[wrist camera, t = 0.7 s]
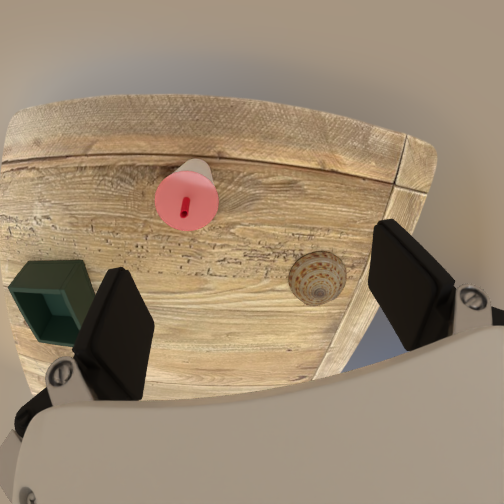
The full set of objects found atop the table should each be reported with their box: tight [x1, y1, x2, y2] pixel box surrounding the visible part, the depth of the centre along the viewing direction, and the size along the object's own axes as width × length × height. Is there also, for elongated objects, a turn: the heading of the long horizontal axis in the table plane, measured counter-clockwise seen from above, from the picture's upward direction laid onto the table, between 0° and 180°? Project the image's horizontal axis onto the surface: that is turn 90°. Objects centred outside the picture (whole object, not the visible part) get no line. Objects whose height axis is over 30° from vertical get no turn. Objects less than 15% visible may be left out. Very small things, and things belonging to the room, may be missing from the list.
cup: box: [155, 159, 219, 231], centre depth 25 cm, size 5×5×12 cm
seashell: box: [289, 252, 347, 306], centre depth 38 cm, size 8×6×8 cm
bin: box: [8, 260, 95, 347], centre depth 33 cm, size 12×12×7 cm
